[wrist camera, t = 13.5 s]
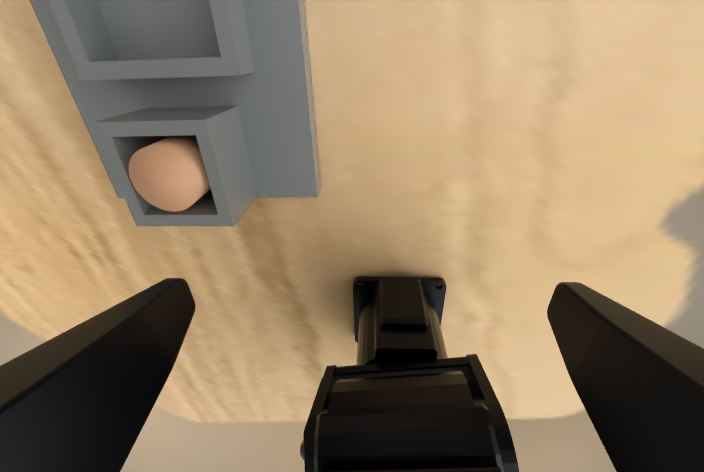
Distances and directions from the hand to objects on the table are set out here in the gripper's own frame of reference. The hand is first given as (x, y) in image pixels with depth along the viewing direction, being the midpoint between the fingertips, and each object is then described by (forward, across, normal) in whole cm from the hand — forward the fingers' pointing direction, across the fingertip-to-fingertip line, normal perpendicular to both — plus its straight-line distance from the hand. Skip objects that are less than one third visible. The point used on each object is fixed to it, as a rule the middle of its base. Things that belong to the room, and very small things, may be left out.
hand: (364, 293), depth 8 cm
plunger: (+10, +9, -1) cm, 13 cm away
